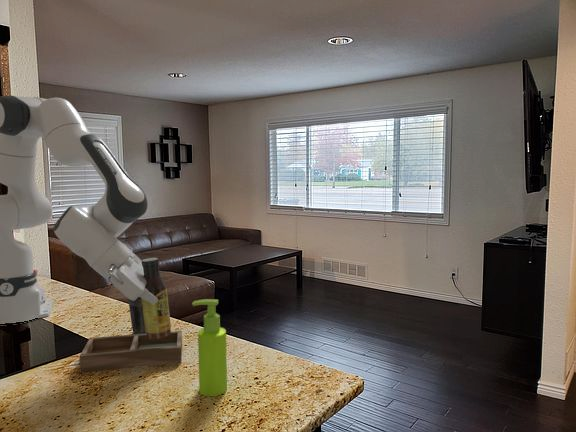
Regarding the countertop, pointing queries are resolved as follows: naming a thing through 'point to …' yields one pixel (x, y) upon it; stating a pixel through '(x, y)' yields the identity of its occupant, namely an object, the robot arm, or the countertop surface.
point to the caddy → (130, 352)
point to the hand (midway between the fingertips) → (157, 297)
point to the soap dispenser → (212, 352)
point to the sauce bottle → (159, 312)
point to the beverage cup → (137, 316)
